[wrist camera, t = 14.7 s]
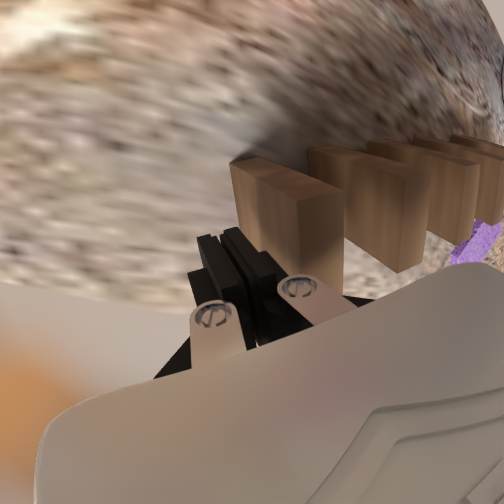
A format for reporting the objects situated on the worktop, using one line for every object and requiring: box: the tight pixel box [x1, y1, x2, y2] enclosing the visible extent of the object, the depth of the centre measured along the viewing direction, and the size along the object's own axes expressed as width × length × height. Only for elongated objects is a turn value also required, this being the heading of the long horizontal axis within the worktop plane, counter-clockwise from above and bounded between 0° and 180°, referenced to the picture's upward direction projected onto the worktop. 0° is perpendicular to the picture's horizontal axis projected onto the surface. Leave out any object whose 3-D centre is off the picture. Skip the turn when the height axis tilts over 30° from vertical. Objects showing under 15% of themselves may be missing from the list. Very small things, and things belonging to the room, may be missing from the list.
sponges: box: [450, 219, 502, 265], centre depth 32 cm, size 7×13×2 cm, turn 128°
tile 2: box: [414, 137, 504, 226], centre depth 19 cm, size 2×5×9 cm, turn 8°
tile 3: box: [368, 140, 480, 246], centre depth 18 cm, size 2×5×9 cm, turn 8°
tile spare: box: [451, 135, 504, 157], centre depth 21 cm, size 2×5×9 cm, turn 9°
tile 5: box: [229, 157, 344, 295], centre depth 15 cm, size 2×5×9 cm, turn 8°
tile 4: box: [307, 145, 431, 273], centre depth 17 cm, size 2×5×9 cm, turn 8°
